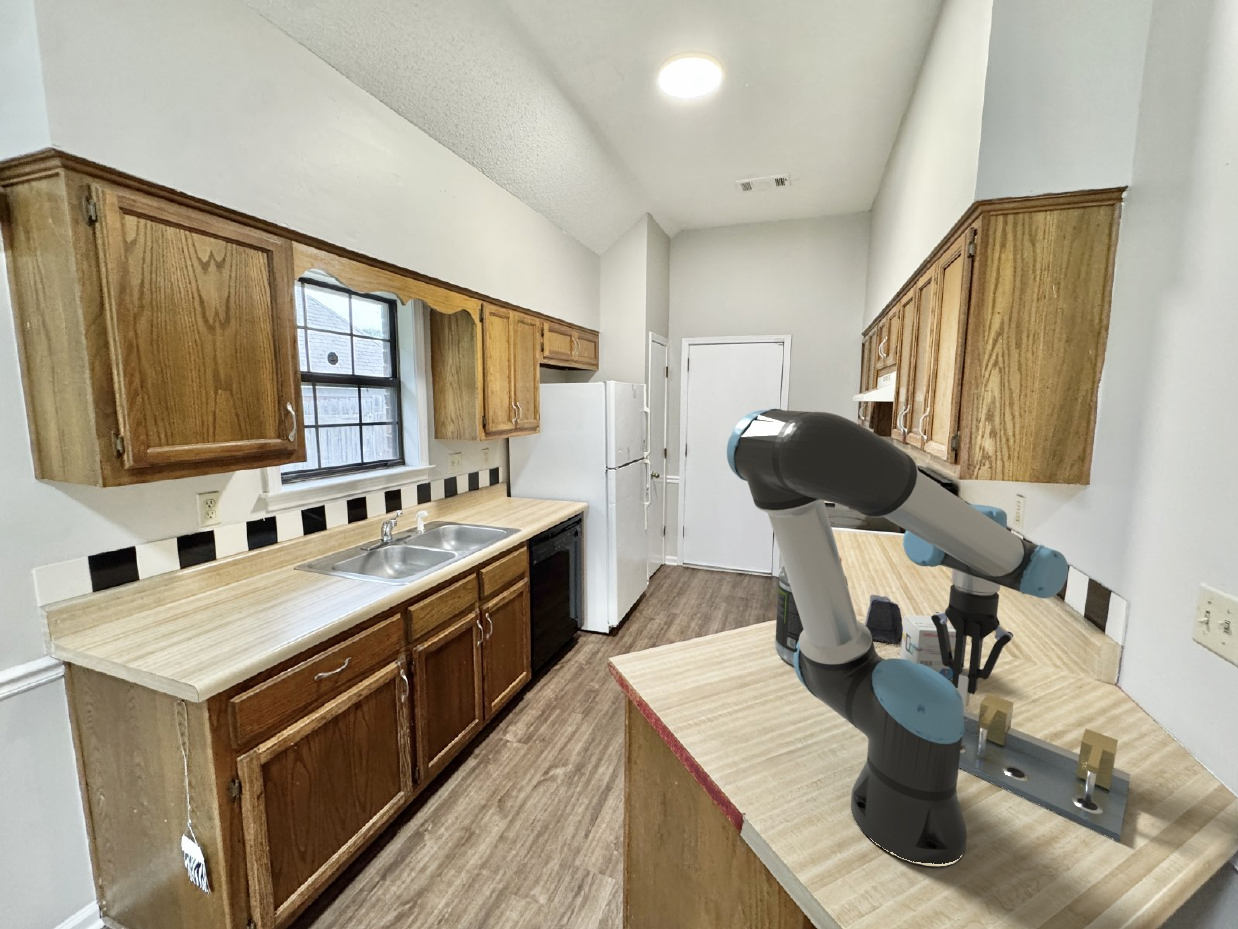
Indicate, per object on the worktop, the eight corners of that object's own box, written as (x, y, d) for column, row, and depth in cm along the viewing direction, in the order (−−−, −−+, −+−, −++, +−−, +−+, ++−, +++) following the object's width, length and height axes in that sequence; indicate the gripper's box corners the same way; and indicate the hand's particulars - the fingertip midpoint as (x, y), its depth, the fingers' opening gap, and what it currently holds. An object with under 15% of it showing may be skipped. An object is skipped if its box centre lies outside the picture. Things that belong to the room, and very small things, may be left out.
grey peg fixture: (1119, 842, 75) (1126, 792, 74) (921, 751, 94) (925, 710, 93) (1128, 787, 86) (1135, 743, 85) (949, 715, 105) (953, 678, 104)
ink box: (936, 661, 126) (940, 615, 125) (954, 680, 118) (959, 631, 116) (899, 659, 127) (903, 613, 126) (915, 677, 119) (919, 629, 117)
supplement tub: (850, 676, 119) (858, 567, 115) (779, 670, 121) (785, 563, 118) (833, 644, 134) (839, 547, 131) (770, 639, 137) (775, 544, 133)
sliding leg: (993, 762, 89) (997, 728, 88) (966, 750, 92) (970, 717, 91) (1009, 733, 97) (1013, 702, 96) (984, 723, 100) (987, 692, 99)
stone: (898, 654, 133) (858, 636, 136) (890, 644, 142) (852, 627, 145) (916, 611, 132) (875, 594, 135) (906, 604, 142) (868, 588, 145)
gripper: (1022, 593, 95) (1008, 713, 98) (941, 574, 104) (930, 684, 107) (1013, 604, 89) (998, 730, 93) (929, 583, 99) (918, 698, 102)
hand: (962, 705), depth 100 cm, fingers closed
